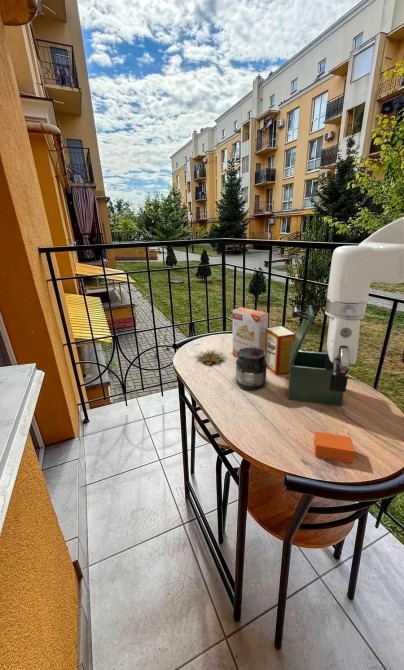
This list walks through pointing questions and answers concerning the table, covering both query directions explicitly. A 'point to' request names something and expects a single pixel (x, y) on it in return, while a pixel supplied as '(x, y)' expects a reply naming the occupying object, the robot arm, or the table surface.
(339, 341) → the robot arm
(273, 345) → the baking soda box
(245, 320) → the cracker box
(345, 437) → the block
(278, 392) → the table surface
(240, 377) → the supplement container
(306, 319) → the bin lid
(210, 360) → the green red plant
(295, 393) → the bin
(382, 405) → the table surface
